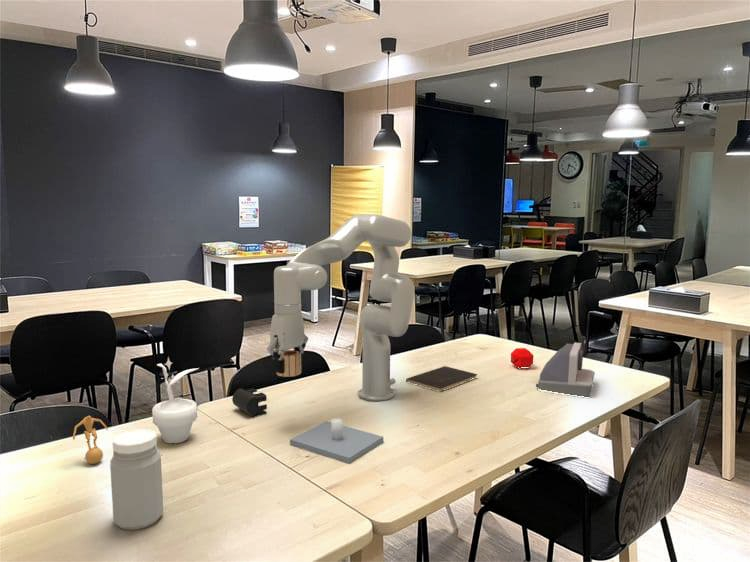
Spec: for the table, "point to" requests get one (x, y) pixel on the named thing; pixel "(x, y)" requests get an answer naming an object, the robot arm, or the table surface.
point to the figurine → (94, 453)
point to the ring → (291, 363)
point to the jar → (136, 479)
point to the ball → (522, 357)
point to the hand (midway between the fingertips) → (288, 369)
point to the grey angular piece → (567, 373)
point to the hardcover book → (441, 378)
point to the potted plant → (174, 412)
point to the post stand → (337, 441)
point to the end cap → (250, 401)
